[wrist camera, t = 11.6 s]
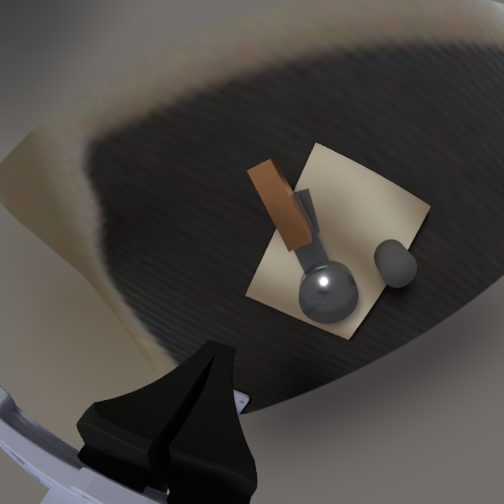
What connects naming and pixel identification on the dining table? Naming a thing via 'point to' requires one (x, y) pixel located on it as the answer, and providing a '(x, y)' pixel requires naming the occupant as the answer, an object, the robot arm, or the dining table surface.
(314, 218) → the board
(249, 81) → the dining table surface
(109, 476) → the robot arm
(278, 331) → the dining table surface
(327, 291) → the crank
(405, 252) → the post
